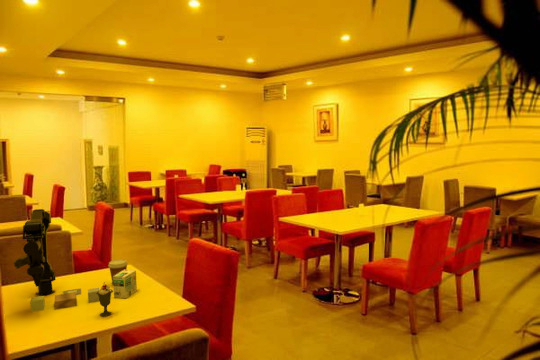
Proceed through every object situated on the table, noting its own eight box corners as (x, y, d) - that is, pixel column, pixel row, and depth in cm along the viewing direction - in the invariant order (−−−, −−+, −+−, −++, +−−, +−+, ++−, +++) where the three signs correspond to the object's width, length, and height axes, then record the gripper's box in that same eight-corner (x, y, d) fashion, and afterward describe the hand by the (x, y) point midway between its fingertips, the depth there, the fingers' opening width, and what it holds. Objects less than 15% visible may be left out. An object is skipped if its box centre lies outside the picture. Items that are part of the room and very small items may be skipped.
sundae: (104, 318, 176) (102, 284, 174) (94, 315, 179) (92, 281, 178) (117, 313, 181) (115, 279, 180) (107, 309, 185) (105, 277, 183)
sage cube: (31, 312, 184) (30, 301, 183) (32, 308, 188) (31, 297, 188) (43, 310, 186) (43, 299, 185) (44, 306, 190) (43, 295, 190)
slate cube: (88, 303, 193) (87, 292, 193) (88, 299, 198) (87, 289, 197) (100, 301, 195) (99, 291, 195) (99, 297, 200) (98, 287, 199)
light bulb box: (126, 298, 197) (124, 276, 196) (113, 297, 199) (112, 276, 198) (137, 290, 208) (136, 269, 207) (125, 289, 209) (124, 269, 208)
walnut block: (55, 310, 186) (54, 301, 186) (55, 303, 194) (54, 295, 194) (77, 306, 190) (76, 298, 190) (76, 299, 198) (75, 291, 198)
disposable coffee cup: (124, 287, 213) (123, 264, 212) (106, 287, 213) (105, 264, 212) (131, 280, 222) (130, 259, 221) (113, 281, 222) (112, 259, 221)
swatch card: (63, 297, 201) (63, 296, 201) (63, 291, 208) (63, 290, 208) (81, 294, 204) (81, 293, 204) (80, 288, 211) (80, 288, 211)
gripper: (16, 246, 189) (18, 279, 191) (12, 257, 173) (15, 293, 174) (43, 243, 194) (46, 275, 196) (42, 253, 178) (45, 288, 179)
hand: (37, 283), depth 186 cm, fingers open, 9 cm apart
